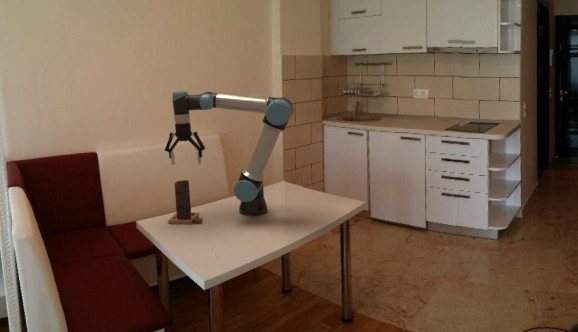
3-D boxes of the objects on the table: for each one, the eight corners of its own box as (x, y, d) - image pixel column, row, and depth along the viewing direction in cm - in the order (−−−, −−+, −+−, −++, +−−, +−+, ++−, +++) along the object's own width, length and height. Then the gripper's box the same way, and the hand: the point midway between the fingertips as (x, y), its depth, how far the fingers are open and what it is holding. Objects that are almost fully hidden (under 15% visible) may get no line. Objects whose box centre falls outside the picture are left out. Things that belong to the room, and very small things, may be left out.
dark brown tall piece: (188, 221, 262) (185, 183, 257) (174, 220, 263) (171, 182, 259) (193, 216, 269) (191, 179, 264) (180, 216, 270) (177, 179, 266)
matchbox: (202, 222, 262) (202, 218, 262) (200, 223, 259) (200, 220, 259) (193, 221, 263) (192, 218, 263) (191, 223, 260) (190, 220, 260)
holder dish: (199, 216, 272) (199, 212, 271) (191, 224, 259) (191, 220, 259) (177, 215, 273) (177, 212, 273) (168, 223, 261) (168, 220, 260)
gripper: (209, 120, 259) (212, 162, 264) (160, 122, 262) (165, 163, 266) (205, 122, 252) (208, 165, 256) (155, 124, 255) (160, 166, 259)
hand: (186, 164), depth 261 cm, fingers open, 13 cm apart
